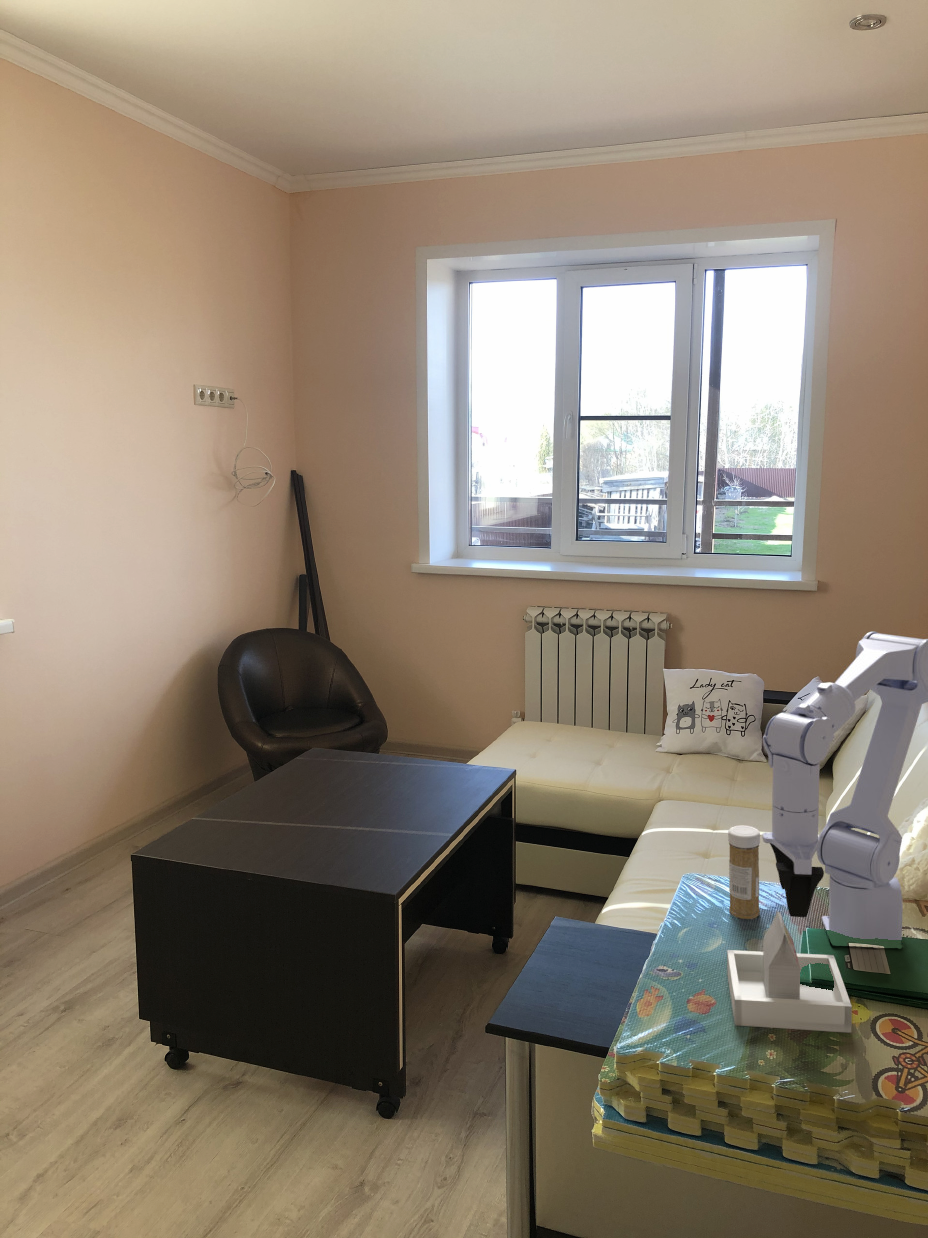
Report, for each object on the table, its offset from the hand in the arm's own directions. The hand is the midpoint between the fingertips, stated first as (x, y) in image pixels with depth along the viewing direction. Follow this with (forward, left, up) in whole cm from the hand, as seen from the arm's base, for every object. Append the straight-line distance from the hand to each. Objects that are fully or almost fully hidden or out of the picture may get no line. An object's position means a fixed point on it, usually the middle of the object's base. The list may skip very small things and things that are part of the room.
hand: (793, 901), depth 125 cm
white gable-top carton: (+2, +7, -10) cm, 12 cm away
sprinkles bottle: (+5, -16, -11) cm, 20 cm away
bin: (+2, +7, -10) cm, 13 cm away
